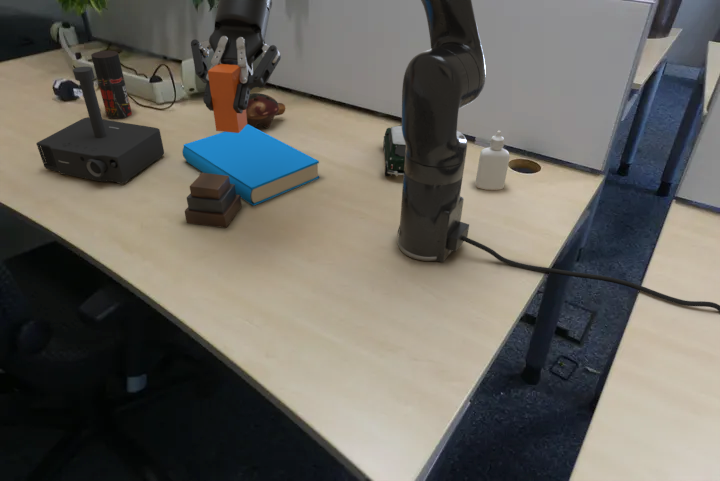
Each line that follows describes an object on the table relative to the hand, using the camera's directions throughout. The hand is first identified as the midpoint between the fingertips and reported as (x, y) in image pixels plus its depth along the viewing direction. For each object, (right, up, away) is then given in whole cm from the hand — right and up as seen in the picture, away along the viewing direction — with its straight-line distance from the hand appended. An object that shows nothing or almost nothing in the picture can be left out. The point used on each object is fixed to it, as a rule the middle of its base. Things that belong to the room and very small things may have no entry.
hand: (224, 109), depth 79 cm
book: (-3, -4, +35) cm, 36 cm away
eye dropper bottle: (+46, -8, +32) cm, 57 cm away
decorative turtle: (-5, +9, +55) cm, 56 cm away
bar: (0, -2, +4) cm, 4 cm away
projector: (-34, -3, +36) cm, 50 cm away
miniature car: (+30, -2, +40) cm, 50 cm away
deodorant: (-41, +13, +58) cm, 72 cm away
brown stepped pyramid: (-7, -14, +21) cm, 26 cm away
